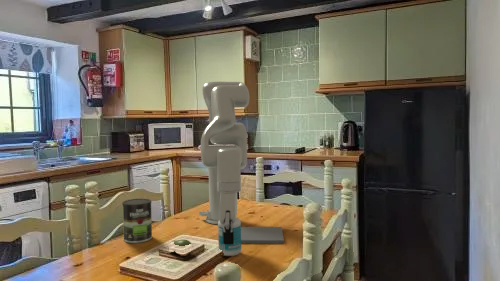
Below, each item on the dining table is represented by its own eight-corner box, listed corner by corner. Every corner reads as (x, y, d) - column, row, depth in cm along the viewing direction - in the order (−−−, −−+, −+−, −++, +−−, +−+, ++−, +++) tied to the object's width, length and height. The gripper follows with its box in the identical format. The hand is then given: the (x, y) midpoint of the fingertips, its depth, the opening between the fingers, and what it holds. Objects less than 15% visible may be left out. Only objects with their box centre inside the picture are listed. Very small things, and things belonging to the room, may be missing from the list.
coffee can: (155, 240, 136) (154, 202, 135) (126, 245, 131) (124, 205, 130) (149, 232, 145) (148, 197, 144) (121, 236, 140) (120, 200, 139)
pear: (180, 242, 117) (163, 240, 124) (182, 259, 117) (165, 256, 124) (194, 238, 121) (176, 236, 128) (196, 254, 121) (178, 252, 128)
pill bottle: (245, 250, 123) (244, 210, 122) (234, 258, 116) (234, 216, 115) (225, 246, 126) (224, 208, 125) (214, 254, 119) (213, 213, 118)
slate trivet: (238, 243, 132) (238, 240, 132) (241, 229, 148) (241, 226, 148) (283, 243, 131) (283, 240, 131) (281, 229, 147) (281, 226, 147)
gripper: (220, 181, 128) (221, 230, 130) (213, 192, 111) (214, 249, 112) (242, 181, 128) (242, 231, 129) (238, 192, 111) (239, 249, 112)
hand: (229, 239), depth 121 cm, fingers closed on pill bottle, 7 cm apart
